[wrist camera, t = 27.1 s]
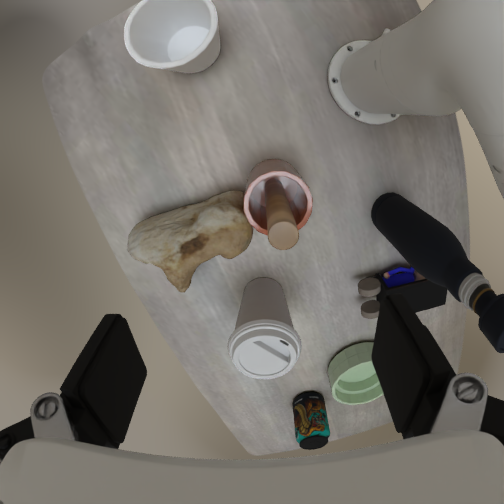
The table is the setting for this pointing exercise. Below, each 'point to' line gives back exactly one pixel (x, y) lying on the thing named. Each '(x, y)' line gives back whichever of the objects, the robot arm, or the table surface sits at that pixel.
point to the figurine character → (401, 291)
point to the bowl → (354, 375)
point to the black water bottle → (440, 260)
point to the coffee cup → (264, 332)
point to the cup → (173, 34)
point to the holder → (292, 185)
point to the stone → (192, 236)
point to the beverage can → (310, 420)
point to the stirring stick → (279, 216)
